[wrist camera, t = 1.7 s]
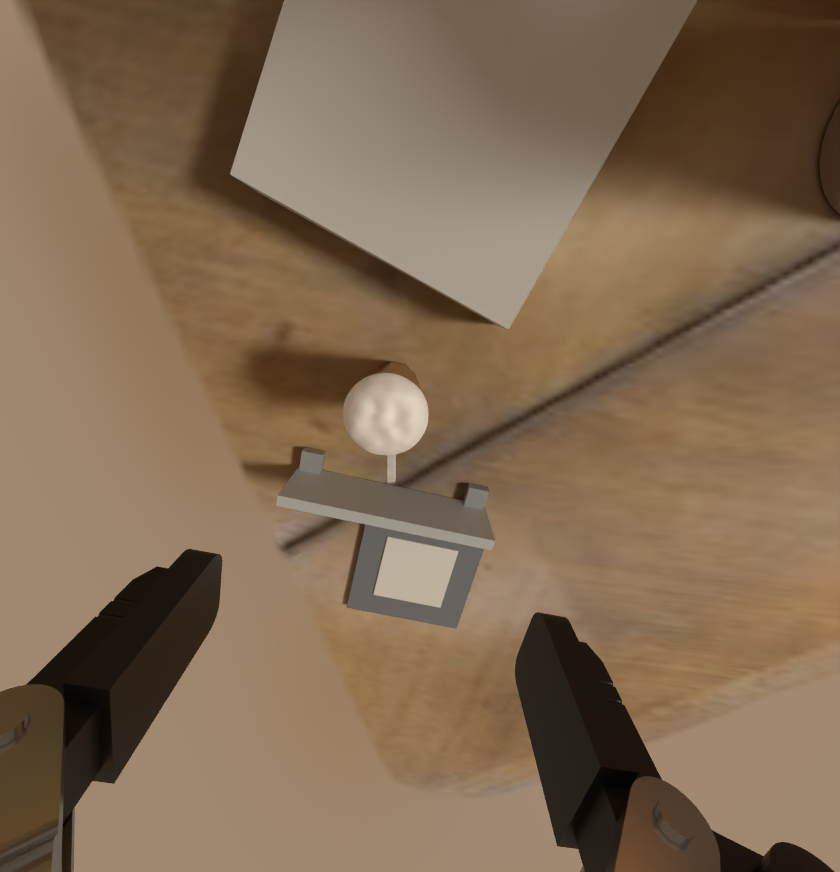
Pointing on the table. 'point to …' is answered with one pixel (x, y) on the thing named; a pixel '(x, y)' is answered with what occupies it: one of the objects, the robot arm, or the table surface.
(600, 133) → the disc drive
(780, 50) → the table surface
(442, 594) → the mat
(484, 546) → the divider wall
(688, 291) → the table surface
